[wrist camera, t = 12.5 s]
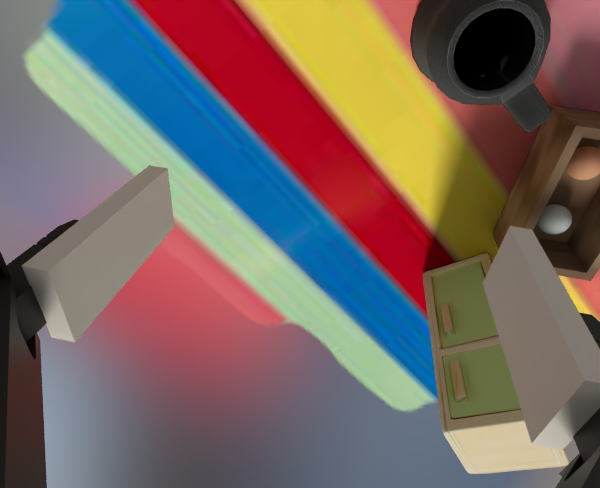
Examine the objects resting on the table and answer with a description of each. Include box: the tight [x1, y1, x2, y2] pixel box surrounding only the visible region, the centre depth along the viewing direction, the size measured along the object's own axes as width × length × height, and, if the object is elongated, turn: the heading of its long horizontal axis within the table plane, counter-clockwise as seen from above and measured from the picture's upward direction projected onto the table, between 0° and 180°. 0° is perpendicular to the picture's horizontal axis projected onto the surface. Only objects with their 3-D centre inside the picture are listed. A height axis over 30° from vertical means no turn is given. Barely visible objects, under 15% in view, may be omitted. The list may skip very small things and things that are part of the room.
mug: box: [410, 0, 552, 132], centre depth 29 cm, size 12×9×11 cm
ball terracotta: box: [565, 146, 600, 180], centre depth 35 cm, size 3×3×3 cm
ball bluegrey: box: [537, 204, 572, 234], centre depth 39 cm, size 3×3×3 cm
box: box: [492, 105, 600, 281], centre depth 36 cm, size 14×8×6 cm, turn 175°
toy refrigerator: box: [423, 253, 569, 474], centre depth 39 cm, size 8×7×21 cm
